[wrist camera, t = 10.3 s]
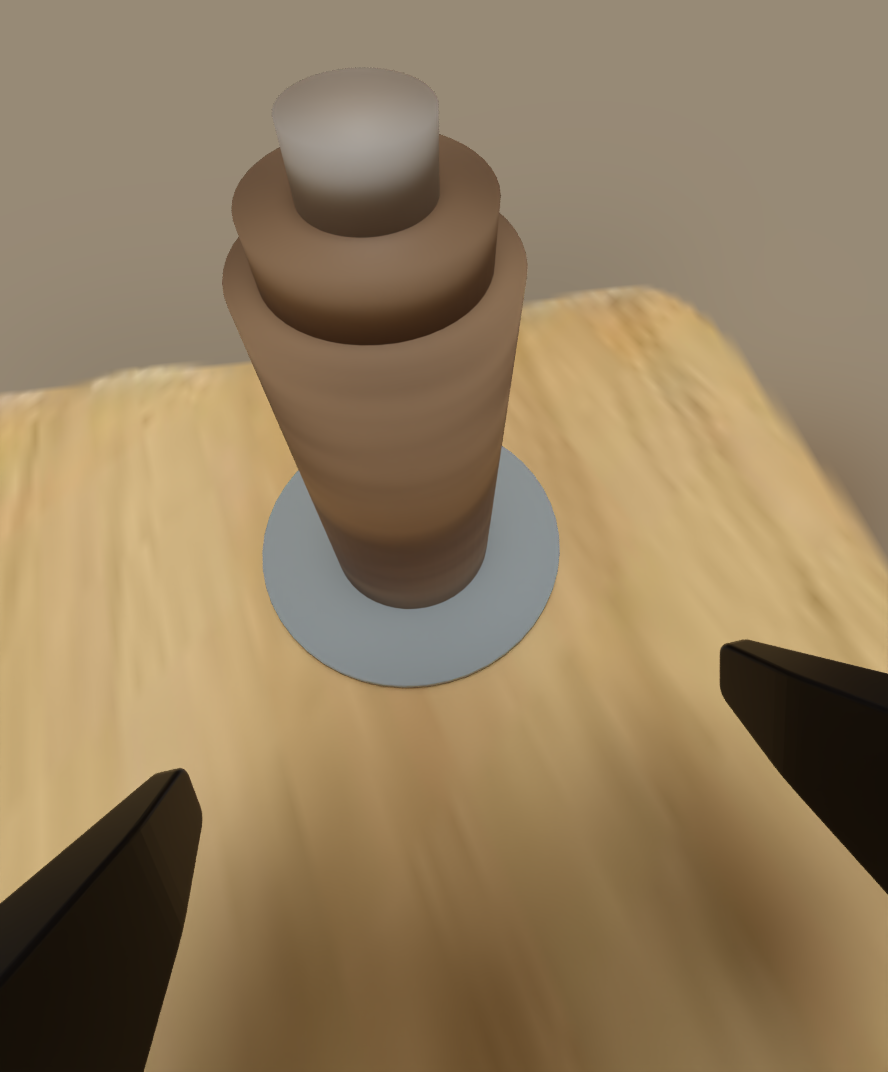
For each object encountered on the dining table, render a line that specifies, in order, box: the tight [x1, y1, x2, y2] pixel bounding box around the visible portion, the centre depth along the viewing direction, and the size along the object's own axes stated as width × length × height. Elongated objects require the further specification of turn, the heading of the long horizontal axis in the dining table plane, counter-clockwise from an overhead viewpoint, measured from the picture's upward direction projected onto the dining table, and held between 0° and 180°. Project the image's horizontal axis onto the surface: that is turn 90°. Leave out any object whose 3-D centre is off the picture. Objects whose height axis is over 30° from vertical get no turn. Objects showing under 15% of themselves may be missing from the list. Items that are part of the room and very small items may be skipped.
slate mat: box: [263, 446, 560, 688], centre depth 20 cm, size 11×11×1 cm
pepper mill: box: [222, 68, 527, 609], centre depth 13 cm, size 6×6×13 cm
